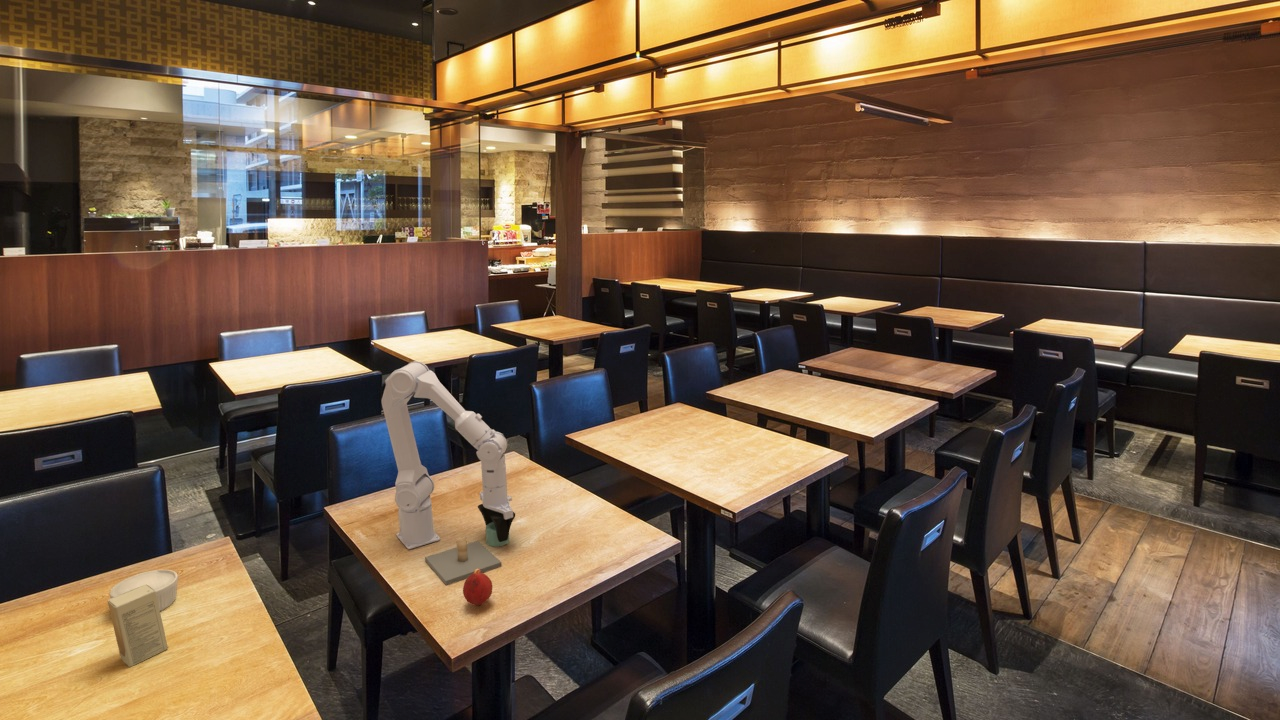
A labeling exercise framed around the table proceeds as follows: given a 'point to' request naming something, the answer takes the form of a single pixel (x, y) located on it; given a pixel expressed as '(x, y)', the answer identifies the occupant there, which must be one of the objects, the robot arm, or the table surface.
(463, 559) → the beech post
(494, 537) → the green ring
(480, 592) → the onion
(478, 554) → the grey board
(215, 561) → the table surface
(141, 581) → the ramekin
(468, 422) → the robot arm
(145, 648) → the skincare box
